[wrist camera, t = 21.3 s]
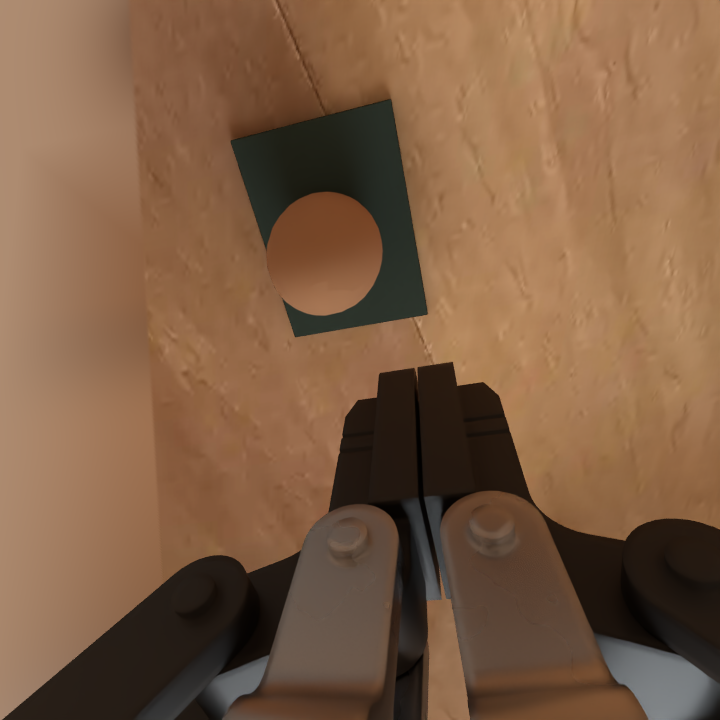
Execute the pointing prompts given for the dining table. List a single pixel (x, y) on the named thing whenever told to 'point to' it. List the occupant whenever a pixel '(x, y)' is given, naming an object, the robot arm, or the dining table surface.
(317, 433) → the dining table surface
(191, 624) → the robot arm
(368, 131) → the mat
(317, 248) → the egg
